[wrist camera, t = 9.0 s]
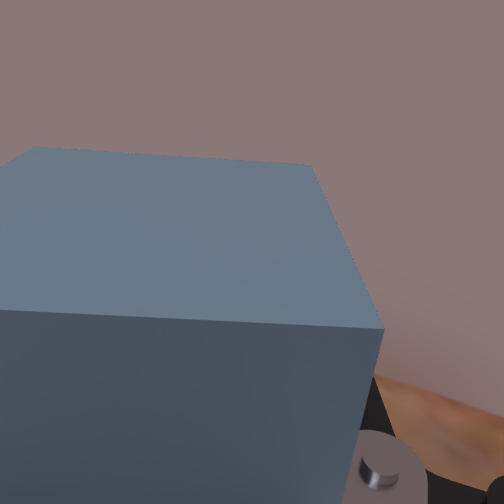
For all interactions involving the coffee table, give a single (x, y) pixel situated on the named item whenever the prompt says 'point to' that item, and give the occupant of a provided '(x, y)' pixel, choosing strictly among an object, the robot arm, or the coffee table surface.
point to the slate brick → (176, 332)
